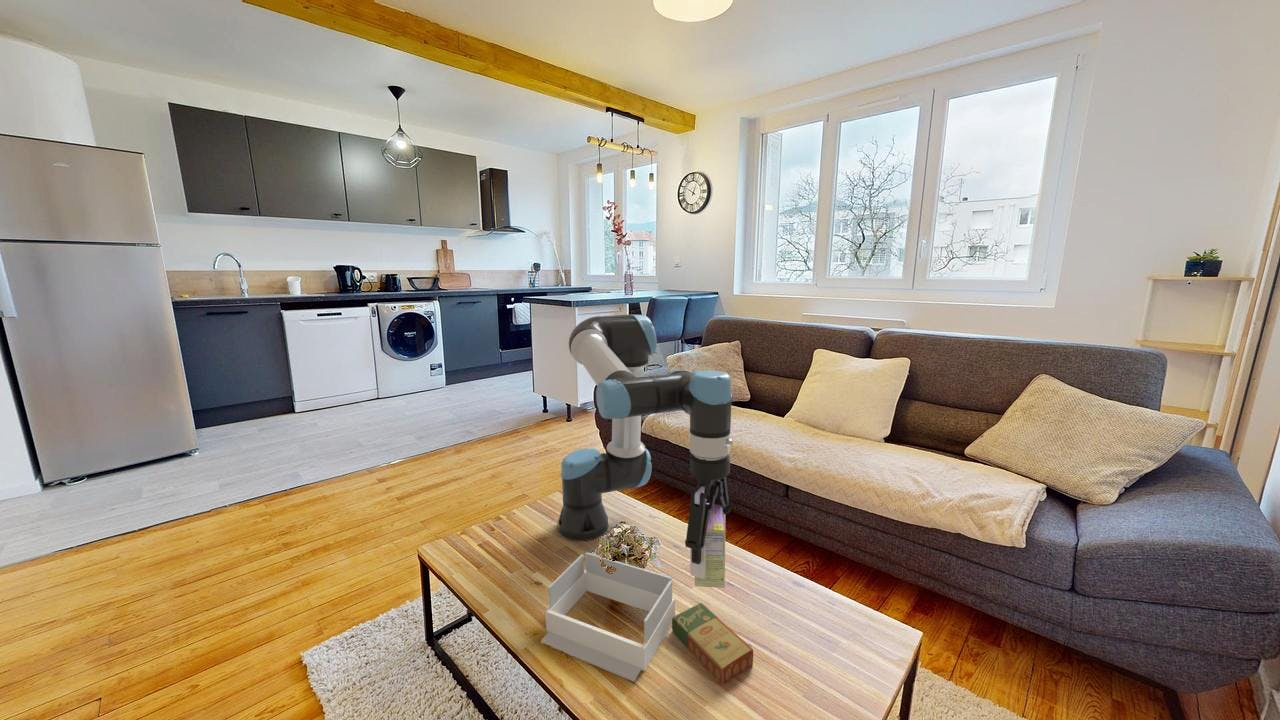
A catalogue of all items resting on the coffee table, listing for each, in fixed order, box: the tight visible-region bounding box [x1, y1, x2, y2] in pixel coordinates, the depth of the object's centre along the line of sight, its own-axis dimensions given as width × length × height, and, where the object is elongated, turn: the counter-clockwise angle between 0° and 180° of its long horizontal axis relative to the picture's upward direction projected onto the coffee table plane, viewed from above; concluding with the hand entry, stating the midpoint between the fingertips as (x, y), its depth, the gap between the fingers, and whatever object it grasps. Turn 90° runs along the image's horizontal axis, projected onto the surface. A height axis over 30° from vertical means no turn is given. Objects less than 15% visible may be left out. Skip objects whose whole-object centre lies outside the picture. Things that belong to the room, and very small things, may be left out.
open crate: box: [541, 551, 676, 683], centre depth 99 cm, size 24×19×10 cm
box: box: [694, 503, 726, 589], centre depth 90 cm, size 10×6×12 cm, turn 173°
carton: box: [671, 602, 754, 686], centre depth 95 cm, size 8×16×4 cm, turn 32°
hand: (708, 558), depth 91 cm, fingers closed on box, 11 cm apart
